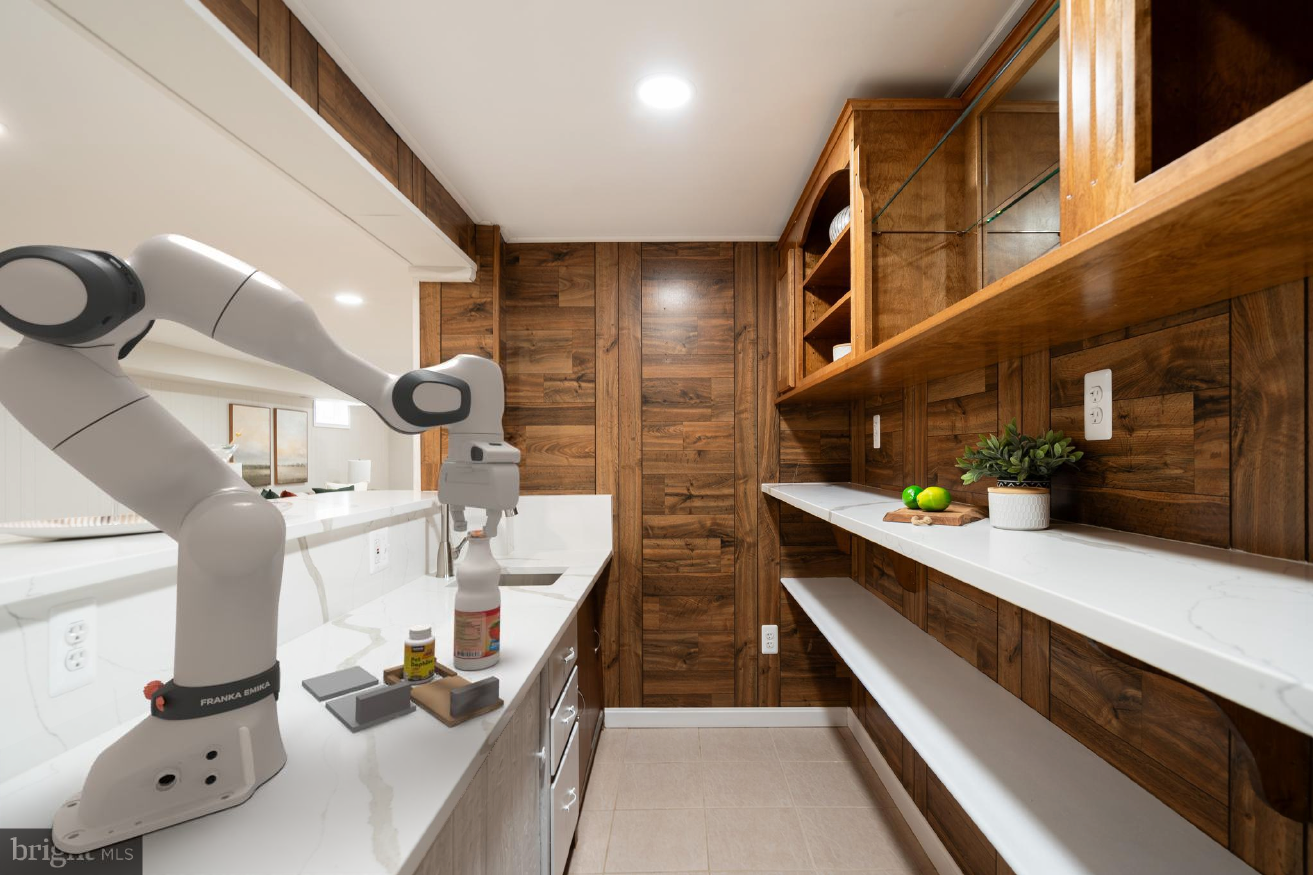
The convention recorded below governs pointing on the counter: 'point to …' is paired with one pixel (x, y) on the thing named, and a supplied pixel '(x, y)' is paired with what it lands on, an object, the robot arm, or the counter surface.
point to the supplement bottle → (419, 655)
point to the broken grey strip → (345, 687)
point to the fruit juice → (477, 607)
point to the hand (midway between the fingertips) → (474, 534)
